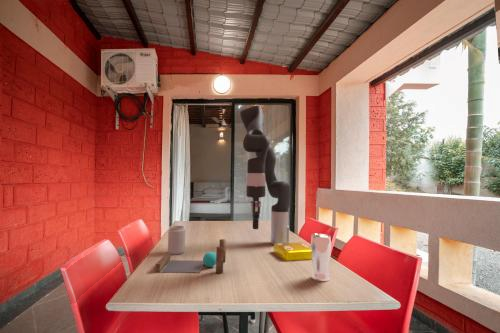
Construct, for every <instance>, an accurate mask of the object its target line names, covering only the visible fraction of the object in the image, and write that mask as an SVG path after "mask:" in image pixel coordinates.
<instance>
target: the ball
mask: <svg viewBox="0 0 500 333" xmlns="http://www.w3.org/2000/svg"><path fill="white" fill-rule="evenodd" d="M202 261H203V262H204V266H206V267H208V268H212V267H214V266H216V253H215V252H213V251H207V252H206V253H205V254H204V255H203V258H202Z"/></svg>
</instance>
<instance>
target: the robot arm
mask: <svg viewBox="0 0 500 333" xmlns="http://www.w3.org/2000/svg"><path fill="white" fill-rule="evenodd" d="M239 114H240V119H241V121H242V123H243V126H244V128H245V131H246V134H245V136H244V139H243V140H242V147H243V149H244V150H245V151H246V152H247V153H255V156H256V157H252V158H249V159H247V162H246V163H247V164H246V165H247V166H246V168H247V171H246V174H247V175H246V192H245V193H246V194H245V195H246V197H247V198H252V201H250V206H251V207H250V209H251V210H250V211H251V212H250V213H251V216H252V217H251V219H252V229H253V230H259V221H260V214H261V207H262V202H261V201H260V198H265V197H266V188H267V191H268V193H269V195H270V196H271V198H274V199H277V202H276V203H275V204H272V206H271V211H270V212H271V214H270V215H271V218H270V244H272V245H273V246H274V244H278V243H290V226H289V216H290V215H289V210H290V206H291V197H292V196H291V193H292V192H291V185H290V183H289V182H287V181H282V180H281V181H280V180H278V179H277V177H276V176H277V175H276V173H275V167H276V163H277V162H276V161H277V157H276V154H275V152H274V148H273V146H272V145H271V141H270V137H269V136H267V134H264V124H265V114H264V111H263V109H262V107H261V106H260V105H258V104H256V105H253V106H250V107H248V108H244V109H242V110H241V111H240V112H239Z"/></svg>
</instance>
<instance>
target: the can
mask: <svg viewBox="0 0 500 333" xmlns="http://www.w3.org/2000/svg"><path fill="white" fill-rule="evenodd" d="M167 236H168V238H167V239H168V240H167V252H168V253H171V255H173V256H174V255H176V256H177V255H182V254H183V253H184V252H185V250H186V229H185V226H183V225H172V226H170V227H169V229H168V235H167Z"/></svg>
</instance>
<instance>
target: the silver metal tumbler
mask: <svg viewBox="0 0 500 333" xmlns="http://www.w3.org/2000/svg"><path fill="white" fill-rule="evenodd" d="M310 237H311V238H310V247H311V256H312V259H311V261H312V272H311V279H312V280H315V281H316V282H328V281H330V274H329V265H330V261H331V256H332V255H331V253H332V241H331V235H330V234H327V233H312V234H311V236H310Z"/></svg>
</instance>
